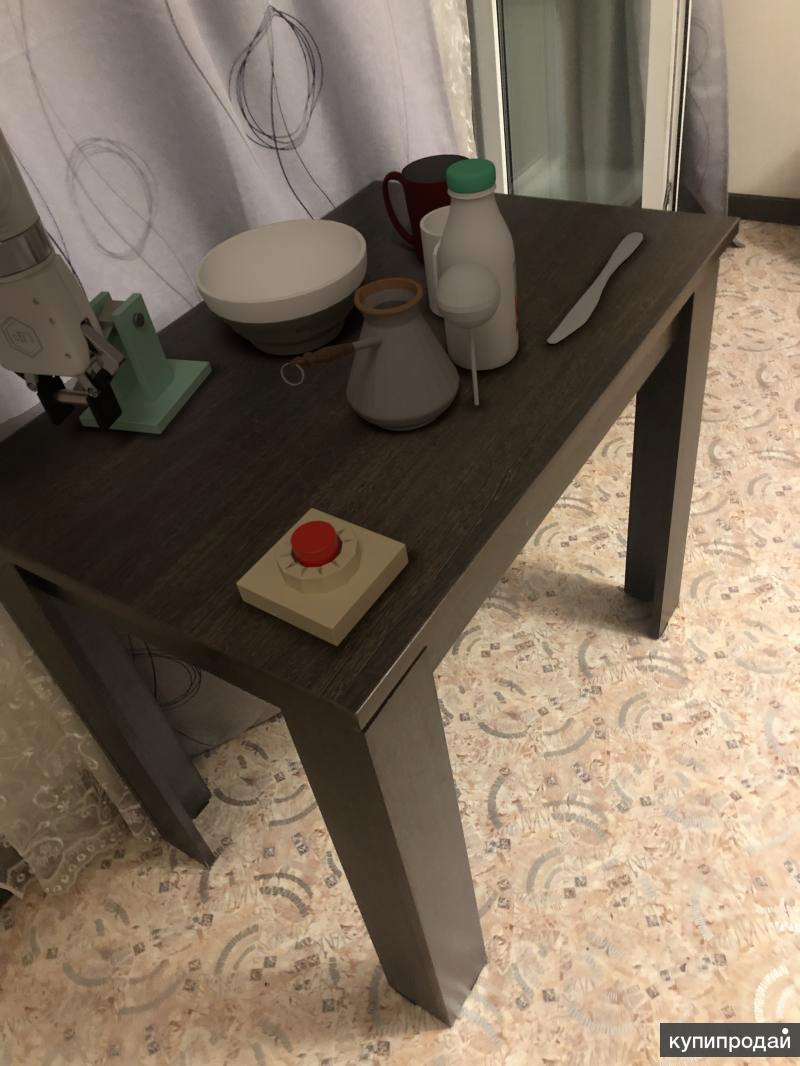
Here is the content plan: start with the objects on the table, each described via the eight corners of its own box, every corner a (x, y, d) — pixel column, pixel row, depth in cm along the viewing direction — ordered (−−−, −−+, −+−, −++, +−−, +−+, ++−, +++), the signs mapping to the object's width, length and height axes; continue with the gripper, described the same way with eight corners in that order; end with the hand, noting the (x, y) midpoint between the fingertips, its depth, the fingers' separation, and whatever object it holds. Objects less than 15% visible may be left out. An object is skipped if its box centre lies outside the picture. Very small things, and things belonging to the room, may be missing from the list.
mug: (380, 267, 107) (366, 182, 99) (404, 236, 113) (393, 154, 105) (467, 271, 103) (460, 183, 95) (487, 239, 108) (482, 154, 101)
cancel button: (321, 574, 63) (316, 558, 62) (286, 558, 65) (281, 543, 64) (348, 544, 65) (344, 529, 64) (314, 530, 67) (309, 515, 66)
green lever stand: (160, 434, 86) (119, 336, 78) (82, 426, 89) (35, 331, 81) (212, 370, 94) (179, 275, 86) (139, 365, 97) (101, 272, 89)
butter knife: (653, 233, 102) (630, 229, 103) (565, 346, 87) (539, 340, 89) (652, 237, 103) (629, 233, 104) (565, 351, 88) (539, 344, 89)
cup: (408, 333, 94) (396, 251, 87) (442, 282, 102) (434, 202, 95) (475, 339, 91) (469, 254, 84) (506, 286, 99) (502, 205, 92)
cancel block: (337, 647, 63) (327, 613, 60) (242, 600, 67) (229, 568, 65) (408, 562, 68) (402, 528, 65) (316, 525, 73) (307, 492, 70)
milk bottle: (515, 372, 86) (508, 180, 72) (443, 373, 87) (422, 185, 73) (521, 333, 91) (515, 147, 77) (453, 334, 93) (435, 153, 79)
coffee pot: (386, 368, 89) (363, 237, 79) (480, 387, 84) (470, 250, 74) (273, 489, 77) (230, 353, 67) (377, 520, 72) (347, 378, 62)
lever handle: (102, 412, 81) (88, 398, 79) (61, 408, 82) (47, 394, 80) (147, 316, 86) (135, 300, 83) (107, 314, 87) (95, 299, 85)
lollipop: (488, 427, 80) (478, 287, 69) (436, 414, 82) (419, 277, 72) (516, 393, 83) (510, 253, 73) (465, 381, 86) (452, 245, 75)
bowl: (288, 280, 108) (271, 209, 101) (410, 308, 98) (400, 231, 92) (184, 356, 97) (157, 282, 90) (310, 395, 88) (290, 316, 81)
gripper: (-101, 267, 70) (-2, 434, 83) (60, 272, 65) (139, 450, 78) (-43, 228, 75) (42, 392, 88) (111, 230, 70) (178, 404, 83)
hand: (87, 418), depth 83 cm, fingers closed on lever handle, 5 cm apart
